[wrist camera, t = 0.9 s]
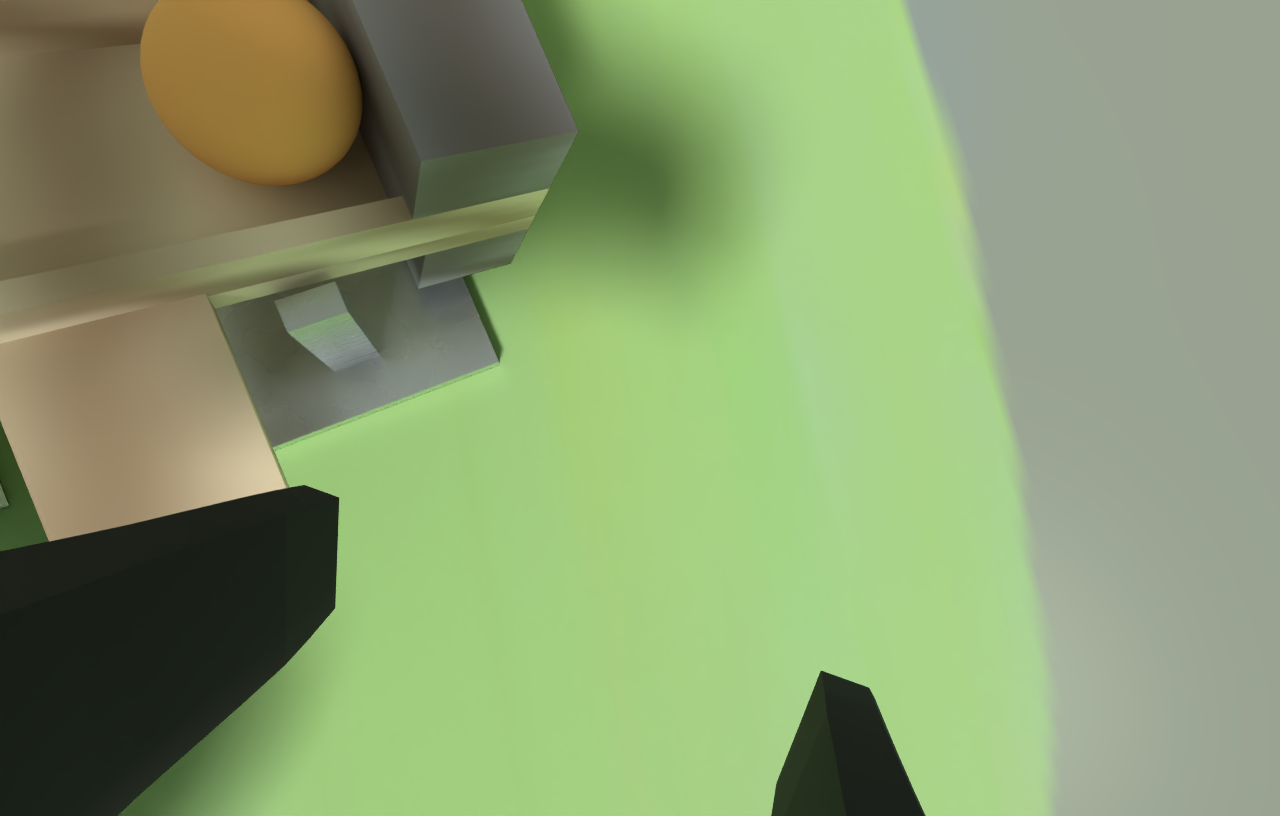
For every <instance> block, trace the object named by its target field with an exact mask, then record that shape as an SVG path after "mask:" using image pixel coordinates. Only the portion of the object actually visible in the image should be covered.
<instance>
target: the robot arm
mask: <svg viewBox="0 0 1280 816" xmlns="http://www.w3.org/2000/svg"><path fill="white" fill-rule="evenodd" d="M338 515H339V497H336V496H333V495H330V494H328V493H325V492H322V491H319V490H317V489H314V488H311V487H308V486H305V485H303V486H297V487H290V488H284V489H279V490H274V491H269V492H265V493H260V494H256V495H251V496H247V497H242V498H238V499H234V500H230V501H225V502H221V503H217V504H213V505H209V506H204V507H200V508H196V509H192V510H188V511H183V512H179V513H175V514H171V515H167V516H162V517H158V518H154V519H150V520H146V521H141V522H137V523H133V524H129V525H124V526H120V527H115V528H111V529H106V530H101V531H97V532H92V533H87V534H82V535H78V536H73V537H68V538H63V539H59V540H54V541H49V542H45V543H40V544H35V545H30V546H26V547H21V548H16V549H11V550H5V551H0V816H117V815H118V814H120V813H121V812H122V811H123V810H124V809H125V808H126V807H127V806H128V805H129V804H130V803H131V802H132V801H133V800H134V799H135V798H136V797H138V796H139V795H140V794H141V793H142V792H143V791H144V790H145V789H146V788H148V787H149V786H150V785H151V784H152V783H153V782H154V781H156V780H157V779H158V778H159V777H160V776H161V775H162V774H163V773H165V772H166V771H167V770H168V769H169V768H170V767H171V766H172V765H174V764H175V763H176V762H177V761H178V760H179V759H180V758H182V757H183V756H184V755H185V754H186V753H187V752H188V751H189V750H191V749H192V748H193V747H194V746H195V745H196V744H197V743H199V742H200V741H201V740H202V739H203V738H204V737H205V736H206V735H208V734H209V733H210V732H211V731H212V730H213V729H214V728H215V727H217V726H218V725H219V724H220V723H221V722H222V721H223V720H225V719H226V718H227V717H228V716H229V715H230V714H231V713H232V712H234V711H235V710H236V709H237V708H238V707H239V706H240V705H241V704H243V703H244V702H245V701H246V700H247V699H248V698H249V697H250V696H251V695H253V694H254V693H255V692H256V691H257V690H258V689H259V688H260V687H261V686H263V685H264V684H265V683H266V682H267V681H268V680H269V679H270V678H271V677H273V676H274V675H275V674H276V673H277V672H278V671H279V670H280V669H281V668H282V667H283V666H284V665H285V664H286V663H287V662H288V661H289V660H290V659H291V658H292V657H293V656H294V655H295V654H296V652H297V651H298V650H299V649H300V648H301V647H302V646H303V645H304V644H305V643H306V642H307V640H308V639H309V638H310V637H311V636H312V635H313V634H314V632H315V631H316V630H317V629H318V628H319V626H320V625H321V624H322V623H323V622H324V621H325V619H326V618H327V617H328V616H329V615H330V614H331V612H332V611H333V610H334V609H335V597H336V570H337V542H338ZM771 816H925V814H924V812H923V809H922V807H921V805H920V803H919V801H918V798H917V796H916V794H915V792H914V790H913V787H912V785H911V783H910V781H909V778H908V776H907V774H906V771H905V769H904V767H903V765H902V762H901V760H900V758H899V755H898V753H897V751H896V748H895V746H894V744H893V741H892V739H891V736H890V734H889V732H888V729H887V727H886V724H885V722H884V720H883V717H882V715H881V712H880V710H879V708H878V705H877V703H876V700H875V698H874V696H873V694H872V692H871V690H870V689H869V688H868V687H865V686H863V685H860V684H857V683H854V682H851V681H849V680H846V679H843V678H840V677H838V676H835V675H832V674H829V673H826V672H824V671H821V672H820V674H819V677H818V679H817V682H816V685H815V687H814V690H813V692H812V695H811V697H810V700H809V702H808V705H807V707H806V710H805V712H804V715H803V717H802V720H801V723H800V725H799V728H798V730H797V733H796V735H795V738H794V740H793V743H792V745H791V748H790V750H789V753H788V756H787V758H786V761H785V763H784V766H783V768H782V771H781V773H780V776H779V778H778V781H777V784H776V790H775V796H774V803H773V809H772V815H771Z"/></svg>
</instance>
